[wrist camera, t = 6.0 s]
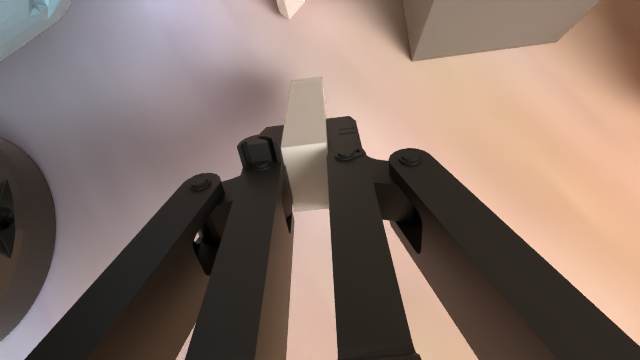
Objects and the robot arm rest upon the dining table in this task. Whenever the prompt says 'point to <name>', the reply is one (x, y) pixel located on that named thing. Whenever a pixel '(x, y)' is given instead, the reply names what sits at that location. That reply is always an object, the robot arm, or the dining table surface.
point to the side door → (289, 7)
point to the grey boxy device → (486, 24)
